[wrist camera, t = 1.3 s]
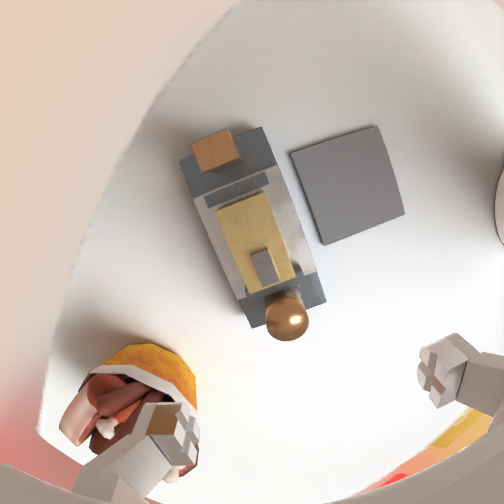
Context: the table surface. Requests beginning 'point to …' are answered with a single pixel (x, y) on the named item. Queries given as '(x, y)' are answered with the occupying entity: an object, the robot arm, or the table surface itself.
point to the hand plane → (272, 183)
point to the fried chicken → (128, 397)
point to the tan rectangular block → (255, 242)
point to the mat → (349, 184)
